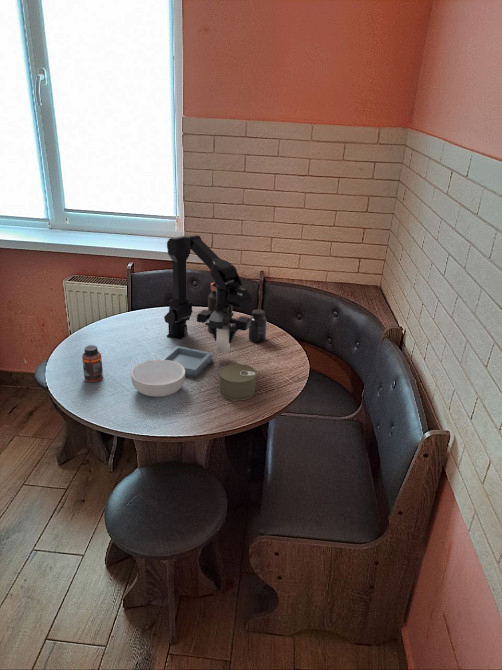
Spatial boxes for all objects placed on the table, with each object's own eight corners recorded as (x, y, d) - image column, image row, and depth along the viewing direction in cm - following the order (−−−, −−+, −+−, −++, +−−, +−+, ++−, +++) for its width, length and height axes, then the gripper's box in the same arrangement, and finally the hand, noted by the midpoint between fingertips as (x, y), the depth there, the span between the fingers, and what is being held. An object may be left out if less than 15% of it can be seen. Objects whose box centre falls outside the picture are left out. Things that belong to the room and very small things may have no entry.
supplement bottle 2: (266, 336, 200) (267, 309, 195) (264, 343, 194) (266, 315, 189) (249, 335, 200) (250, 307, 196) (247, 342, 194) (248, 314, 189)
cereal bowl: (161, 410, 148) (160, 390, 145) (120, 393, 156) (119, 373, 153) (196, 387, 161) (196, 368, 158) (157, 372, 169) (156, 354, 166)
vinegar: (205, 332, 201) (205, 285, 193) (211, 326, 207) (212, 280, 199) (221, 335, 199) (222, 287, 191) (226, 328, 205) (228, 282, 197)
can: (220, 380, 166) (220, 362, 163) (255, 382, 166) (257, 364, 163) (217, 400, 155) (217, 380, 152) (255, 402, 155) (256, 382, 152)
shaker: (213, 351, 178) (214, 324, 173) (219, 345, 182) (219, 319, 178) (227, 353, 176) (227, 327, 172) (232, 348, 181) (233, 322, 176)
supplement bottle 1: (107, 376, 165) (104, 345, 160) (96, 384, 160) (93, 353, 155) (91, 372, 167) (88, 342, 162) (80, 380, 162) (77, 349, 157)
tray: (158, 369, 171) (157, 361, 170) (177, 353, 183) (176, 345, 182) (195, 377, 167) (195, 370, 166) (211, 360, 179) (212, 353, 178)
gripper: (189, 304, 167) (189, 345, 174) (241, 313, 162) (239, 356, 168) (203, 294, 177) (203, 334, 183) (252, 302, 171) (250, 343, 178)
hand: (223, 341), depth 178 cm, fingers closed on shaker, 5 cm apart
